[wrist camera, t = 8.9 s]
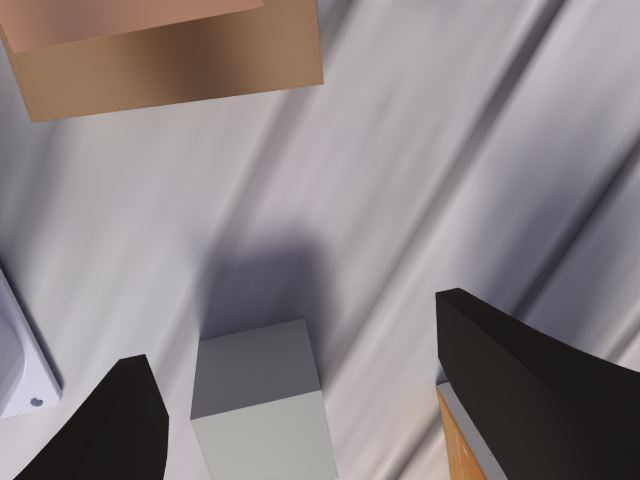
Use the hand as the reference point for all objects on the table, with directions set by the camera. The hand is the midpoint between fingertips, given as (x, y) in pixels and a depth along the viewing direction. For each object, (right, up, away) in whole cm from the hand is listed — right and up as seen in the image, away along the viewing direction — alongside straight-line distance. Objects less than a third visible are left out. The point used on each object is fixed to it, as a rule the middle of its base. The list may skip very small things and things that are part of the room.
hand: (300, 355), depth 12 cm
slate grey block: (-2, -3, +12) cm, 13 cm away
